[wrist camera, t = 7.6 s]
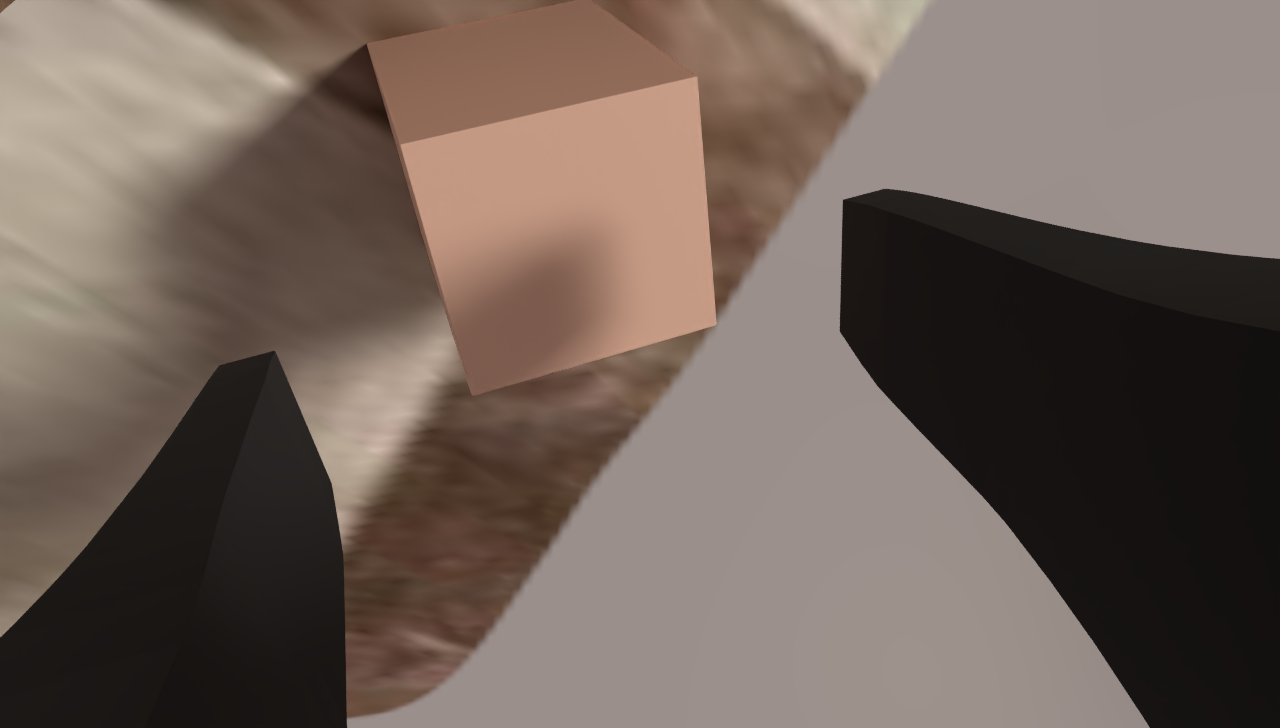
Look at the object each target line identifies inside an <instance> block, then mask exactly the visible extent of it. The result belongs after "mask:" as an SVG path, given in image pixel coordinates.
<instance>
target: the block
mask: <svg viewBox="0 0 1280 728" xmlns="http://www.w3.org/2000/svg"><path fill="white" fill-rule="evenodd" d="M367 47H368V50H369V54H370V57H371V61H372V64H373V68H374V71H375V75H376V78H377V82H378V85H379V88H380V92H381V95H382V99H383V102H384V106H385V109H386V113H387V116H388V120H389V123H390V127H391V130H392V133H393V137H394V140H395V144H396V147H397V151H398V154H399V158H400V161H401V165H402V168H403V172H404V175H405V178H406V182H407V185H408V189H409V192H410V196H411V199H412V203H413V206H414V210H415V213H416V217H417V220H418V223H419V227H420V230H421V234H422V237H423V241H424V244H425V248H426V251H427V254H428V257H429V261H430V264H431V267H432V270H433V273H434V276H435V280H436V283H437V286H438V289H439V292H440V296H441V299H442V302H443V305H444V308H445V312H446V315H447V318H448V321H449V324H450V327H451V331H452V334H453V337H454V340H455V343H456V347H457V350H458V353H459V356H460V359H461V363H462V366H463V369H464V372H465V375H466V379H467V382H468V385H469V388H470V391H471V394H472V396H474V395H478V394H481V393H485V392H488V391H492V390H495V389H499V388H502V387H505V386H509V385H512V384H516V383H519V382H523V381H526V380H529V379H533V378H536V377H540V376H543V375H547V374H550V373H553V372H557V371H560V370H564V369H567V368H571V367H574V366H577V365H581V364H584V363H588V362H591V361H595V360H598V359H602V358H605V357H608V356H612V355H615V354H619V353H622V352H626V351H629V350H632V349H636V348H639V347H643V346H646V345H650V344H653V343H656V342H660V341H663V340H667V339H670V338H674V337H677V336H680V335H684V334H687V333H691V332H694V331H698V330H701V329H705V328H708V327H711V326H715V325H717V324H716V311H715V299H714V286H713V273H712V260H711V248H710V235H709V222H708V209H707V196H706V184H705V171H704V158H703V145H702V132H701V120H700V107H699V94H698V81H697V76H696V75H694V74H693V73H692V72H690V71H689V70H687V69H686V68H685V67H683V66H682V65H681V64H679V63H678V62H676V61H675V60H674V59H672V58H671V57H669V56H668V55H667V54H665V53H664V52H662V51H661V50H660V49H658V48H657V47H655V46H654V45H653V44H651V43H650V42H648V41H647V40H646V39H644V38H643V37H642V36H640V35H639V34H637V33H636V32H635V31H633V30H632V29H630V28H629V27H628V26H626V25H625V24H623V23H622V22H621V21H619V20H618V19H616V18H615V17H614V16H612V15H611V14H610V13H608V12H607V11H605V10H604V9H603V8H601V7H600V6H598V5H597V4H596V3H594V2H593V1H591V0H576V1H571V2H566V3H561V4H556V5H551V6H546V7H542V8H537V9H532V10H527V11H522V12H517V13H512V14H507V15H503V16H498V17H493V18H488V19H483V20H478V21H473V22H469V23H464V24H459V25H454V26H449V27H444V28H439V29H434V30H430V31H425V32H420V33H415V34H410V35H405V36H400V37H395V38H391V39H386V40H381V41H376V42H371V43H367Z"/></svg>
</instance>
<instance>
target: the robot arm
mask: <svg viewBox="0 0 1280 728" xmlns="http://www.w3.org/2000/svg"><path fill="white" fill-rule="evenodd" d="M842 222H843V223H842V263H841V305H840V332H841V334H842V335H843V337H844V338H845V340H846V341H847V343H848V344H849V346H850V347H851V349H852V350H853V352H854V353H855V355H856V356H857V358H858V359H859V361H860V362H861V364H862V365H863V367H864V368H865V369H866V371H867V372H868V373H869V375H870V376H871V378H872V379H873V380H874V382H875V383H876V384H877V386H878V387H879V388H880V389H881V390H882V391H883V392H884V394H885V395H886V396H887V397H888V398H889V399H890V400H891V401H892V402H893V403H894V404H895V405H896V407H897V408H898V409H900V411H901V412H902V413H903V414H904V415H905V416H906V417H907V418H908V419H909V420H910V421H911V423H913V425H914V426H915V427H916V428H917V429H918V430H919V431H920V432H921V433H922V434H923V435H924V436H925V437H926V438H927V439H928V440H929V441H930V442H931V443H932V444H933V445H934V446H935V448H936V449H937V450H938V451H940V453H941V454H942V455H943V456H944V457H945V458H946V459H947V460H948V461H949V462H950V463H951V464H952V465H953V466H954V467H955V468H956V469H957V470H958V471H959V472H960V474H961V475H963V477H964V478H965V479H966V480H967V481H968V482H969V483H970V484H971V485H972V486H973V487H974V488H975V489H976V490H977V491H978V492H979V493H980V494H981V495H982V496H983V498H984V499H985V500H986V501H987V502H988V503H989V504H990V506H991V507H992V508H993V509H994V510H995V511H996V512H997V513H998V515H1000V517H1001V518H1002V519H1003V520H1004V521H1005V523H1006V524H1007V525H1008V526H1009V528H1010V529H1011V530H1012V532H1013V533H1014V534H1015V536H1016V537H1017V538H1018V539H1019V541H1020V542H1021V543H1022V545H1023V546H1024V547H1025V548H1026V550H1027V551H1028V552H1029V554H1030V555H1031V556H1032V558H1033V559H1034V560H1035V561H1036V563H1037V564H1038V566H1039V567H1040V568H1041V570H1042V571H1043V572H1044V573H1045V575H1046V576H1047V577H1048V578H1049V580H1050V581H1051V583H1052V584H1053V586H1054V587H1055V588H1056V590H1057V591H1058V592H1059V594H1060V595H1061V597H1062V598H1063V600H1064V601H1065V602H1066V604H1067V605H1068V607H1069V608H1070V609H1071V611H1072V612H1073V614H1074V615H1075V616H1076V618H1077V619H1078V621H1079V622H1080V623H1081V625H1082V626H1083V628H1084V629H1085V631H1086V632H1087V633H1088V635H1089V636H1090V638H1091V639H1092V640H1093V642H1094V643H1095V645H1096V646H1097V648H1098V649H1099V651H1100V652H1101V654H1102V655H1103V656H1104V658H1105V660H1106V661H1107V663H1108V664H1109V666H1110V667H1111V669H1112V670H1113V672H1114V673H1115V675H1116V676H1117V678H1118V680H1119V681H1120V683H1121V684H1122V686H1123V687H1124V689H1125V690H1126V692H1127V693H1128V695H1129V696H1130V698H1131V699H1132V701H1133V702H1134V704H1135V705H1136V707H1137V708H1138V710H1139V711H1140V713H1141V714H1142V716H1143V717H1144V719H1145V721H1146V722H1147V724H1148V725H1149V727H1150V728H1280V259H1274V258H1262V257H1251V256H1240V255H1230V254H1222V253H1215V252H1207V251H1199V250H1191V249H1184V248H1176V247H1167V246H1162V245H1155V244H1149V243H1143V242H1137V241H1131V240H1126V239H1121V238H1116V237H1110V236H1105V235H1100V234H1095V233H1090V232H1085V231H1079V230H1075V229H1071V228H1066V227H1062V226H1057V225H1052V224H1048V223H1044V222H1039V221H1035V220H1031V219H1027V218H1022V217H1018V216H1014V215H1010V214H1006V213H1001V212H997V211H993V210H989V209H984V208H980V207H977V206H972V205H968V204H964V203H960V202H956V201H951V200H947V199H943V198H938V197H933V196H929V195H924V194H918V193H913V192H907V191H901V190H891V189H882V190H879V191H875V192H871V193H867V194H863V195H860V196H856V197H852V198H848V199H845V200H843V220H842ZM0 728H347V711H346V657H345V604H344V566H343V551H342V544H341V538H340V531H339V524H338V518H337V513H336V507H335V501H334V495H333V489H332V483H331V481H330V479H329V476H328V474H327V472H326V469H325V467H324V465H323V462H322V460H321V458H320V455H319V453H318V451H317V448H316V446H315V444H314V441H313V439H312V436H311V434H310V432H309V429H308V427H307V425H306V422H305V420H304V418H303V415H302V413H301V411H300V408H299V406H298V404H297V401H296V399H295V397H294V394H293V392H292V390H291V387H290V385H289V383H288V380H287V378H286V376H285V373H284V371H283V369H282V366H281V364H280V361H279V359H278V357H277V354H276V352H275V351H272V352H268V353H265V354H261V355H257V356H253V357H250V358H246V359H242V360H238V361H235V362H231V363H227V364H223V365H220V366H219V367H218V368H217V369H216V371H215V372H214V373H213V375H212V376H211V377H210V379H209V380H208V382H207V383H206V385H205V386H204V388H203V389H202V391H201V392H200V394H199V395H198V396H197V398H196V399H195V401H194V402H193V404H192V405H191V407H190V408H189V410H188V411H187V413H186V414H185V416H184V417H183V419H182V420H181V422H180V423H179V425H178V426H177V428H176V429H175V430H174V432H173V433H172V435H171V436H170V438H169V439H168V440H167V442H166V443H165V445H164V446H163V447H162V449H161V450H160V452H159V453H158V455H157V456H156V457H155V459H154V460H153V462H152V463H151V464H150V466H149V467H148V469H147V470H146V472H145V473H144V474H143V476H142V477H141V478H140V480H139V481H138V482H137V483H136V485H135V486H134V487H133V488H132V490H131V491H130V492H129V493H128V495H127V496H126V497H125V499H124V500H123V501H122V502H121V504H120V505H119V506H118V507H117V509H116V510H115V511H114V512H113V514H112V515H111V516H110V517H109V519H108V520H107V521H106V522H105V524H104V525H103V526H102V527H101V529H100V530H99V531H98V533H97V534H96V535H95V536H94V538H93V539H92V540H91V541H90V543H89V544H88V545H87V546H86V547H85V549H84V550H83V551H82V552H81V553H80V554H79V555H78V557H77V558H76V559H75V560H74V561H73V562H72V563H71V565H70V566H69V567H68V568H67V569H66V570H65V571H64V572H63V573H62V575H61V576H60V577H59V578H58V579H57V580H56V581H55V582H54V583H53V584H52V585H51V587H50V588H49V589H48V590H47V591H46V592H45V593H44V594H43V595H42V596H41V597H40V598H39V599H38V600H37V601H36V602H35V603H34V604H33V605H32V606H31V607H30V608H29V609H28V610H27V611H26V612H25V613H24V614H23V616H22V617H21V618H20V619H19V620H18V621H17V622H16V623H15V624H14V625H13V626H12V627H11V628H10V629H9V630H8V631H7V632H6V633H5V634H4V635H3V636H2V637H1V638H0Z"/></svg>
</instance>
